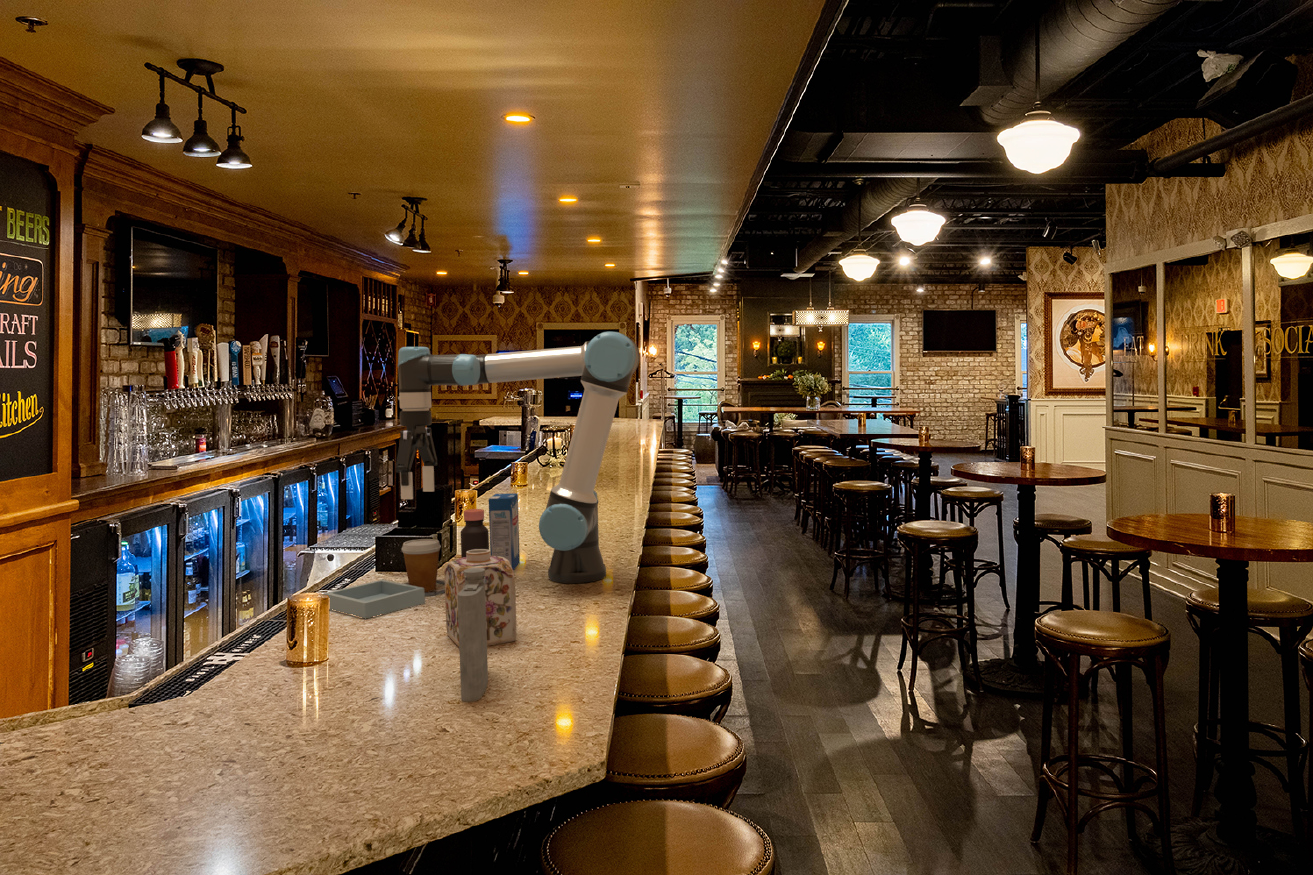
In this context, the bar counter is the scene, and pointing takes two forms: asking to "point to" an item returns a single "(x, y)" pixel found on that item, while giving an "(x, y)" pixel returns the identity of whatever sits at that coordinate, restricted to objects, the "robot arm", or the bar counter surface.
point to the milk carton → (504, 527)
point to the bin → (375, 598)
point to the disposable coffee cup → (422, 562)
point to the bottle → (474, 532)
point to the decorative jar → (496, 595)
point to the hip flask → (473, 635)
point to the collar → (434, 591)
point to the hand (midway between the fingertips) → (418, 495)
